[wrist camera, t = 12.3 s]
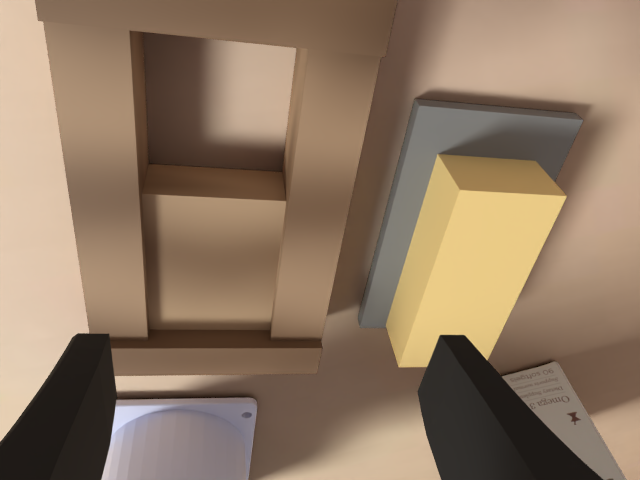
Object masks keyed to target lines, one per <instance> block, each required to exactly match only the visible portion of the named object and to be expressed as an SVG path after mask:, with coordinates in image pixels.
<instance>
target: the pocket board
mask: <svg viewBox="0 0 640 480" xmlns="http://www.w3.org/2000/svg"><path fill="white" fill-rule="evenodd" d="M397 1H398V0H35V4H36V10H37V17H38V21H43V23H44V30H45V37H46V43H47V50H48V57H49V64H50V70H51V77H52V84H53V91H54V97H55V104H56V111H57V117H58V124H59V131H60V138H61V144H62V151H63V158H64V164H65V171H66V178H67V185H68V191H69V198H70V205H71V212H72V218H73V225H74V232H75V238H76V245H77V252H78V259H79V265H80V272H81V279H82V286H83V292H84V299H85V306H86V312H87V319H88V326H89V333H90V334H109V335H110V343H111V351H112V360H113V368H114V376H153V375H251V374H317V371H318V367H319V362H320V357H321V353H322V343H321V339H322V335H323V330H324V325H325V320H326V316H327V311H328V306H329V302H330V297H331V292H332V287H333V283H334V278H335V273H336V268H337V264H338V259H339V254H340V250H341V245H342V240H343V235H344V231H345V226H346V221H347V217H348V212H349V207H350V202H351V198H352V193H353V188H354V183H355V179H356V174H357V169H358V165H359V160H360V155H361V150H362V146H363V141H364V136H365V131H366V127H367V122H368V117H369V113H370V108H371V103H372V98H373V94H374V89H375V84H376V79H377V75H378V70H379V65H380V61H381V57H386V52H387V47H388V43H389V38H390V33H391V29H392V24H393V20H394V15H395V10H396V6H397ZM143 32H150V33H159V34H169V35H178V36H188V37H197V38H207V39H217V40H226V41H236V42H245V43H255V44H265V45H274V46H284V47H293V48H297V49H296V58H295V66H294V75H293V83H292V92H291V100H290V108H289V117H288V125H287V134H286V142H285V150H284V159H283V167H282V172H275V171H259V170H242V169H226V168H209V167H193V166H176V165H160V164H149V155H148V133H147V111H146V88H145V66H144V44H143Z"/></svg>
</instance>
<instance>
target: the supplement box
mask: <svg viewBox="0 0 640 480" xmlns="http://www.w3.org/2000/svg"><path fill="white" fill-rule="evenodd" d="M501 377H502V378H503V379H504V380H505V381H506V382H507V384H508V385H509V386H510V387H511V388H512V389H513V390H514V391H515V392H516V394H517V395H518V396H519V397H520V398H521V399H522V400H523V401H524V402H525V403H526V405H527V406H528V407H529V408H530V409H531V410H532V411H533V412H534V413H535V414H536V415H537V416H538V417H539V418H540V419H541V420H542V421H543V422H544V424H545V425H546V426H547V427H548V428H549V429H550V430H551V431H552V432H553V433H554V434H555V435H556V436H557V437H558V438H559V439H560V440H561V441H562V442H563V443H564V444H565V445H567V446H568V447H569V448H570V449H571V450H572V451H573V452H574V453H575V454H576V455H577V456H578V457H579V458H580V459H581V460H582V461H583V462H584V463H585V464H587V465H588V466H589V467H590V468H591V469H592V470H593V471H594V472H596V473H597V474H598V475H599V476H600V477H601V478H602V479H604V480H627V479H626V478H625V476H624V474H623V473H622V471H621V469H620V468H619V466H618V464H617V463H616V461H615V459H614V457H613V456H612V454H611V452H610V451H609V449H608V447H607V446H606V444H605V442H604V440H603V439H602V437H601V435H600V434H599V432H598V430H597V429H596V427H595V425H594V423H593V422H592V420H591V418H590V416H589V415H588V413H587V411H586V410H585V408H584V406H583V405H582V403H581V401H580V399H579V398H578V396H577V394H576V393H575V391H574V389H573V388H572V386H571V384H570V382H569V381H568V379H567V377H566V376H565V374H564V372H563V370H562V368H561V367H560V365H559V363H558V362H556V361H553V362H551V363H549V364H546V365H542V366H539V367H536V368H532V369H528V370H524V371H520V372H516V373H513V374H509V375H505V376H501Z"/></svg>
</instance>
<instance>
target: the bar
mask: <svg viewBox="0 0 640 480" xmlns="http://www.w3.org/2000/svg"><path fill="white" fill-rule="evenodd" d="M566 197H567V196H566V194H565V193H564V192H563V191H562V190H561V189H560V188H559V187H558V185H557V184H556V183H555V182H554V181H553V180H552V179H551V178H550V176H549V175H548V174H547V173H546V172H545V171H544V170H543V169H542V168H541V166H540V165H539V164H538V163H537V162H536V161H531V160H516V159H502V158H487V157H473V156H459V155H444V154H437V158H436V161H435V164H434V168H433V171H432V174H431V177H430V181H429V184H428V187H427V191H426V194H425V197H424V200H423V204H422V207H421V210H420V214H419V217H418V220H417V224H416V227H415V230H414V233H413V237H412V240H411V243H410V247H409V250H408V253H407V256H406V260H405V263H404V266H403V270H402V273H401V276H400V280H399V283H398V286H397V289H396V293H395V296H394V299H393V303H392V306H391V309H390V312H389V316H388V319H387V322H386V328H387V331H388V334H389V338H390V341H391V344H392V347H393V351H394V354H395V357H396V360H397V364H398V367H427V366H428V364H429V361H430V359H431V356H432V354H433V351H434V349H435V346H436V343H437V341H438V338H439V336H440V335H465V336H466V337H467V338H468V339H469V340H470V341H471V342H472V344H473V345H474V346H475V347H476V348H477V349H478V350H479V352H480V353H481V354H482V355H483V356H484V357H485V358H486V360H488V358H489V356H490V354H491V352H492V350H493V348H494V346H495V344H496V342H497V340H498V337H499V335H500V333H501V331H502V329H503V327H504V325H505V323H506V321H507V319H508V317H509V315H510V313H511V311H512V309H513V307H514V305H515V302H516V300H517V298H518V296H519V294H520V292H521V290H522V288H523V286H524V284H525V282H526V280H527V278H528V276H529V274H530V272H531V269H532V267H533V265H534V263H535V261H536V259H537V257H538V255H539V253H540V251H541V249H542V247H543V245H544V243H545V241H546V239H547V236H548V234H549V232H550V230H551V228H552V226H553V224H554V222H555V220H556V218H557V216H558V214H559V212H560V210H561V208H562V206H563V204H564V201H565V199H566Z"/></svg>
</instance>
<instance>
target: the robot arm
mask: <svg viewBox="0 0 640 480" xmlns="http://www.w3.org/2000/svg"><path fill="white" fill-rule="evenodd" d="M418 396H419V401H420V407H421V412H422V417H423V421H424V426H425V430H426V435H427V438H428V441H429V444H430V447H431V450H432V453H433V456H434V459H435V462H436V465H437V468H438V471H439V474H440V477H441V480H604V479H602V478H601V477H600V476H599V475H598V474H597V473H596V472H594V471H593V470H592V469H591V468H590V467H589V466H588V465H587V464H585V463H584V462H583V461H582V460H581V459H580V458H579V457H578V456H577V455H576V454H575V453H574V452H573V451H572V450H571V449H570V448H569V447H568V446H567V445H565V444H564V443H563V442H562V441H561V440H560V439H559V438H558V437H557V436H556V435H555V434H554V433H553V432H552V431H551V430H550V429H549V428H548V427H547V426H546V425H545V424H544V422H543V421H542V420H541V419H540V418H539V417H538V416H537V415H536V414H535V413H534V412H533V411H532V410H531V409H530V408H529V407H528V406H527V405H526V403H525V402H524V401H523V400H522V399H521V398H520V397H519V396H518V395H517V394H516V392H515V391H514V390H513V389H512V388H511V387H510V386H509V385H508V384H507V382H506V381H505V380H504V379H503V378H502V377H501V376H500V374H499V373H498V372H497V371H496V370H495V369H494V368H493V367H492V365H491V364H490V363H489V362H488V361H487V360H486V358H485V357H484V356H483V355H482V354H481V353H480V352H479V350H478V349H477V348H476V347H475V346H474V345H473V344H472V342H471V341H470V340H469V339H468V338H467V337H466V336H465V335H440V336H439V338H438V341H437V343H436V346H435V349H434V351H433V354H432V356H431V359H430V361H429V364H428V366H427V369H426V371H425V374H424V377H423V379H422V382H421V384H420V387H419V389H418ZM116 399H117V394H116V385H115V377H114V368H113V360H112V351H111V343H110V335H109V334H77V335H75V336H74V337H73V338H72V339H71V341H70V343H69V344H68V346H67V348H66V350H65V351H64V353H63V354H62V356H61V358H60V359H59V361H58V362H57V364H56V366H55V367H54V369H53V370H52V372H51V373H50V375H49V376H48V378H47V379H46V381H45V382H44V384H43V385H42V387H41V388H40V390H39V391H38V392H37V394H36V395H35V397H34V398H33V399H32V401H31V402H30V403H29V405H28V406H27V408H26V409H25V410H24V412H23V413H22V414H21V416H20V417H19V419H18V420H17V421H16V423H15V424H14V425H13V427H12V428H11V429H10V431H9V432H8V433H7V434H6V436H5V437H4V438H3V439H2V441H1V442H0V480H248V478H249V470H250V462H251V454H252V446H253V438H254V430H255V422H256V414H257V401H256V400H255V399H253V398H248V397H245V398H189V399H134V400H116Z"/></svg>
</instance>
